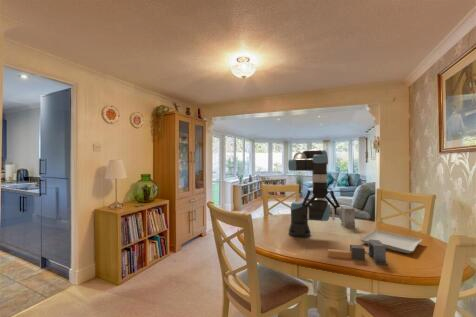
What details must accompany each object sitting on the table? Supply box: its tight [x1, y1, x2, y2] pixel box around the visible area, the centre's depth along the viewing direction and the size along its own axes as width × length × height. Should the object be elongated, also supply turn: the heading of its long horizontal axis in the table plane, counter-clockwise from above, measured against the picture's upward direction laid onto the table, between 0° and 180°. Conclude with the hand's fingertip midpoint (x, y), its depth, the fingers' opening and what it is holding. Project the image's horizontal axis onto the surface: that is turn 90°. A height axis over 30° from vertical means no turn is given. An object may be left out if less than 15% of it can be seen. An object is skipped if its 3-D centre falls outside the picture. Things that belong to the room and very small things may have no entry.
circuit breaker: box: [338, 206, 356, 229], centre depth 183 cm, size 8×14×15 cm, turn 174°
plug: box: [327, 244, 368, 261], centre depth 123 cm, size 19×5×6 cm, turn 77°
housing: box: [367, 240, 389, 266], centre depth 120 cm, size 5×13×9 cm, turn 167°
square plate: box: [359, 229, 423, 254], centre depth 142 cm, size 27×27×4 cm
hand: (320, 219), depth 128 cm, fingers open, 13 cm apart
